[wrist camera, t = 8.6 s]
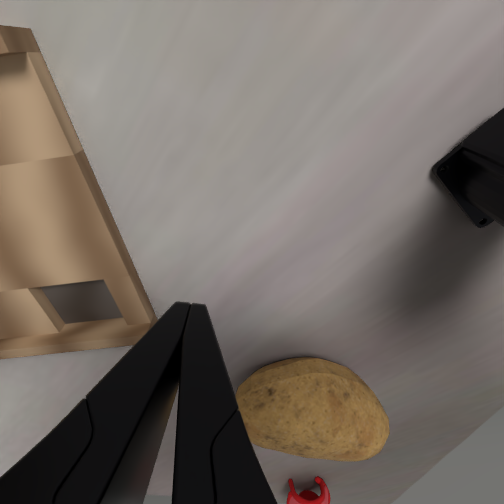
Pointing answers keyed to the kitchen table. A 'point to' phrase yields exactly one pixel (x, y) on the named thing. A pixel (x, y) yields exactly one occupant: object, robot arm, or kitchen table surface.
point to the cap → (309, 494)
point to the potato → (312, 411)
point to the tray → (56, 225)
